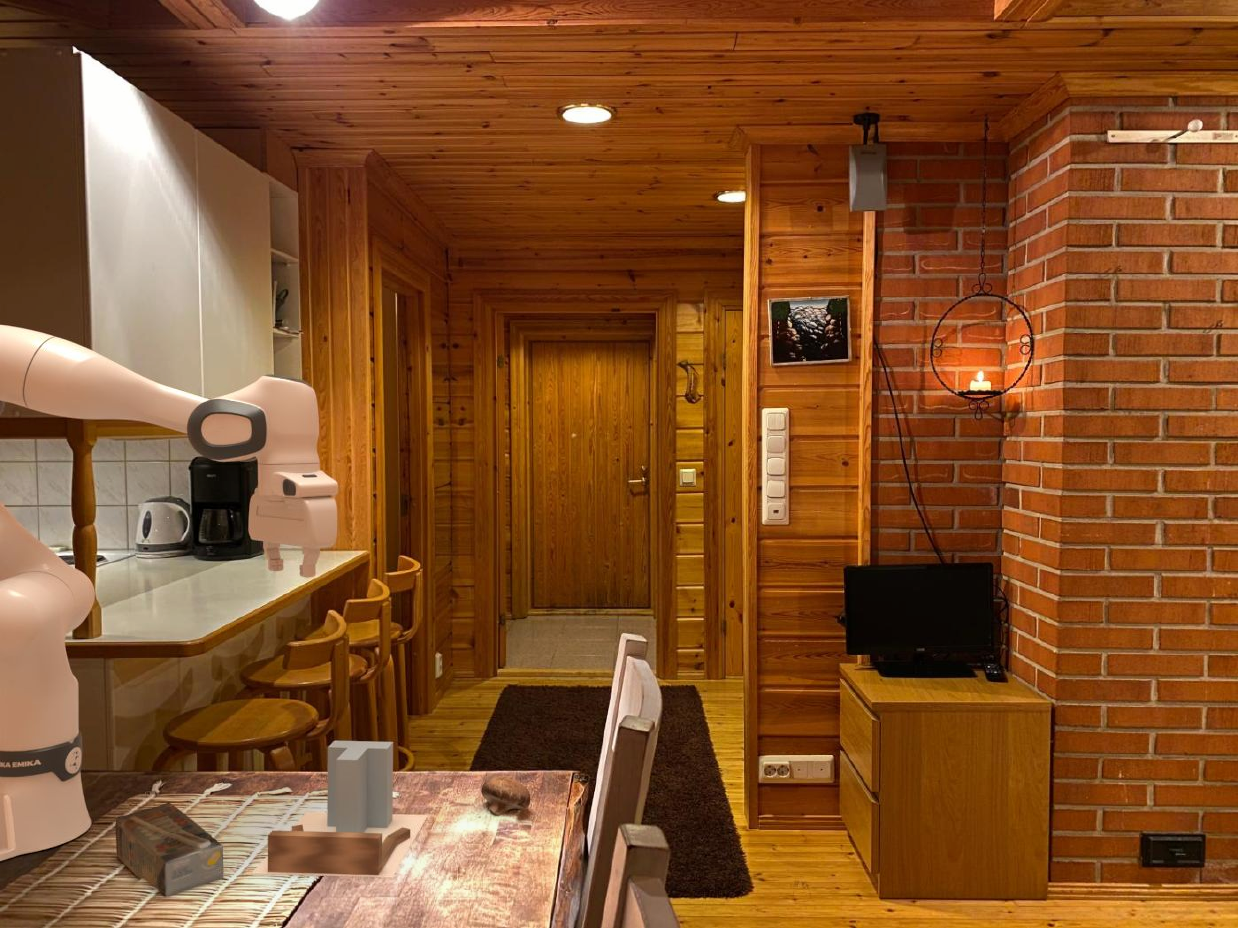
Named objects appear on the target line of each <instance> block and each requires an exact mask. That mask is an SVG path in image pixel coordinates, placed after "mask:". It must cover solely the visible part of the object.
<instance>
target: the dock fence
mask: <svg viewBox="0 0 1238 928" xmlns="http://www.w3.org/2000/svg"><path fill="white" fill-rule="evenodd" d="M291 829H292V831H290V830H271V831H270V832H269V833H268V834H267V855H268V872H284V873H319V874H355V875H379V874H380V872H381V871H382V869H383V867H384V866H385V864H386V862H387V861H388V859H389V857H390V856H391V854H392V852H393V851H394V849H395V847H396V846H397V845H398V844H400V843H402V842H404V841H405V840H407V839H409V838H410V829H407V828H403V827H402V828H400V829H398V830H397V831H395V832H393V833H391V834H390V835H388V837H386V838H385V840H384V841H383V843H382V833H350V832H313V831H304V830H303V825H296V826H294V825H291Z"/></svg>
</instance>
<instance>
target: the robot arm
mask: <svg viewBox="0 0 1238 928" xmlns="http://www.w3.org/2000/svg"><path fill="white" fill-rule="evenodd" d="M6 403H11V404H14V405H17V406H20V407H23V408H27V409H29V410H32V411H37V412H40V413H44V414H48V415H53V416H57V417H64V418H71V419H79V420H123V421H124V420H128V421H137V422H144V423H149V424H152V425H155V426H160V427H162V428H166V429H170V430H173V431H177V432H180V433H183V434H187V438H188V442H189V443H190V445H191V446H192V448H193V449H194V451H195V452H196V453H198V454H199V455H201V456H203V457H204V458H207V459H209V460H212V461H216V462H221V463H225V462H226V463H227V462H244V463H246V462H248V463H249V462H254V461H257V482H258V483H257V486H256V488H255V489H254V493H253V494H252V495H251V498H250V501H249V511H248V534H249V536H250V540H253V541H260V542H262V543H263V545H262V548H263V551H264V554H265V557H266V559H267V568H268V571H270V572H280V571H281V572H282V571H283V570H284V559H283V558H281V553H280V548H281V545H287V546H293V547H298V548H301V554H302V555H303V560H302V564H299V566H298V567H299V576H300V577H303V578H313V577H315V576H316V573H317V571H316V570H317V569H316V565H317V562H318V559H319V558H320V555H321V549H326V548H332V547H334V545H335V543H336V541H337V538H338V506H337V501H336V499H335V497H333V496H336V495H338V493H339V486H338V482H337V481H336V479H334V478H332V477H330V475H327V474H326V473H325V472H324V471H323V470H321V466H320V465H321V463H320V462H321V460H320V457H319V454H318V446H317V445H318V439H319V437H320V421H319V420H320V419H319V418H320V416H319V408H318V406H319V405H318V400H317V394H316V392H315V389H314V387H312V386H311V384H310V383H308V382H306V381H305V380H303V379H300V378H294V377H290V376H286V375H279V374H272V373H271V374H270V373H269V374H265V375H262V376H260V377H259V378H258V379H257V380H256V381H254V382H252V383H251V384H249V385H247V386H245V387H243V388H241V389H239V390H236V391H233V392H231V393H228V394H224V395H221V396H217V397H214V398H208V397H205V396H201V395H198V394H194V393H191V392H187V391H184V390H180V389H179V388H174V387H171V386H168V385H164V384H161V383H159V382H156V381H153V380H151V379H150V378H147V377H145V376H143V375H141V374H139V373H136V372H134V371H132V370H131V369H129V368H127V367H125V366H123V365H121V364H119V363H117V362H116V361H113V360H111V359H110V358H108V357H106V356H104V355H102V354H100V353H98V352H97V351H94V350H92V349H90V348H87V347H85V346H83V345H80V344H78V343H77V342H76V343H75V342H73V341H70V340H68V339H64V338H61V337H57V336H54V335H51V334H48V333H44V332H41V331H36V330H32V329H28V328H23V327H19V326H18V327H17V326H11V325H4V324H0V416H1V415H2V413H3V412H4V409H5V405H6ZM95 598H96V591H95V588H94V584H93V583H92V581H91V579H90V578H89V577H88V576H87V575H86V574H85V573H84V572H83V571H81V570H79V569H78V568H76V567H74V566H71V565H69V564H68V563H67V562H65V560H63V559H62V558H61V557H60V556H58V555H57V554H56V553H55V552H54V551H53V550H51V549H50V548H49V546H47V545H46V544H45V543H43V542H42V541H41V540H39V539H38V538H37V537H36V536H34V534H32V533H31V532H30V531H29V530H27V529H26V527H24V526H23V525H22V524H21V523H20V522H19V521H18V520H17V519H16V517H14V515H13V514H12V513H11V512H10V510H9V509H8V508H7V507H6V506H5V504H4V503H2V501H1V500H0V862H2V861H5V860H8V859H11V858H14V857H17V856H20V855H25V854H29V853H30V854H31V853H35V852H39V851H42V850H48V849H50V848H54V847H58V846H60V845H62V844H65V843H67V842H70V841H72V840H74V839H76V838H78V837H80V836H81V835H83V834H84V833H86V832H87V831H88V830H89V829H90V828H91V826H92V819H91V817H90V814H89V811H88V809H87V805H86V801H85V800H86V799H85V796H84V790H83V784H82V778H81V777H82V776H81V771H82V764H83V737H82V736H83V734H82V732H81V731H80V730H79V681H78V679H77V678H76V676H75V675H74V674H73V671H72V669H71V666H70V662H69V659H68V655H67V651H66V636H67V635H68V633H71V632H73V631H74V630H75V629H77V628H78V627H79V626H81V624H83V622H84V621H85V619H86V618H87V617H88V615H89V614H90V612H91V610H92V608H93V606H94V604H95Z"/></svg>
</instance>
